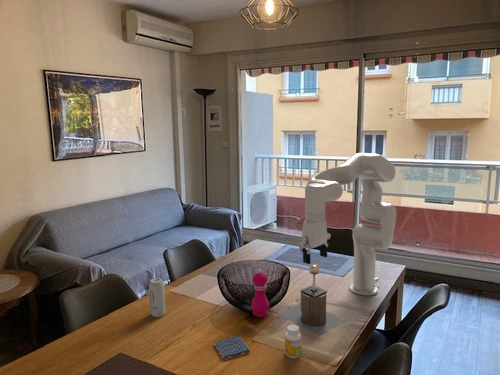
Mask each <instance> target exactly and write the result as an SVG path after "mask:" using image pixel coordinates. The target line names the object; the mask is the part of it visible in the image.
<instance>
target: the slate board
mask: <svg viewBox="0 0 500 375" xmlns="http://www.w3.org/2000/svg"><path fill="white" fill-rule="evenodd" d="M277 315H280V316H282V317H283V318H286V319H287V320H289V321H291V322H293V323H295V325H296V324H297V326H298V325H299V327H303V328H304V329H306V330H308V331H310V332H312V333H314V334H315V335H318V336H322V335H324V334H325V333H327V332H329V331H331V330H333V329H334V328H337V327H338V326H340V325H341V324H343V323H345V322H347V320H346V319H343V318H341V317H339V316H337V315H334V314H333V313H330V312H328V311H326V323H325V324H324V325H321V326H309V325H306V324H304V323H303V322H302V321H301V316H302V311H301V302H300V303H298V304H295V305H293V306H291V307H288V308H287V309H284V310H282V311H280V312H278V313H277Z"/></svg>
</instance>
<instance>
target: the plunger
mask: <svg viewBox="0 0 500 375" xmlns="http://www.w3.org/2000/svg"><path fill="white" fill-rule="evenodd" d="M308 268H309V270H308V273H309V274H310V275H312V285H313V292H315V286H316V275H319V274H320V265H319V264H317V263H310V264H308Z"/></svg>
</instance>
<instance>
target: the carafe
mask: <svg viewBox="0 0 500 375" xmlns="http://www.w3.org/2000/svg"><path fill="white" fill-rule="evenodd" d="M327 293H328V291H327V290H325V289H323V288H320V287H318V286H316V285H315V292H313V284H312V285H310V286H308V287H305V288H302V289H301V290H300V303H301V311H302V316H301V321H302V322H303V323H304V324H306V325H309V326H321V325H324V324H325V323H326V312H327Z"/></svg>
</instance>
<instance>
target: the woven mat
mask: <svg viewBox="0 0 500 375" xmlns="http://www.w3.org/2000/svg"><path fill="white" fill-rule="evenodd" d="M213 346H214V347H215V348H216V349H215V350H217V351H218V353H217V354H219V355H220V356H221V359H223V361H227V360H231V359H235V358H237V357H241V356H244V355H245V356H246V355H247V354H251V348H250V347H249V346H248V344H246V343H245V341H244V340H243V339H242V338H241V336H239V335H235V336H231V337H230V338H229V337H227V338H223V339H222V340H220V339H219V341H216V340H214V344H213Z"/></svg>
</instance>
